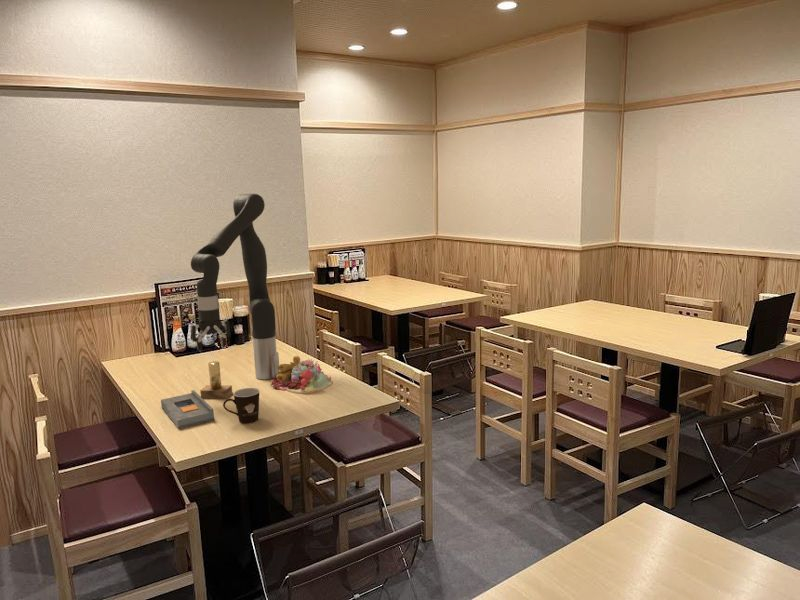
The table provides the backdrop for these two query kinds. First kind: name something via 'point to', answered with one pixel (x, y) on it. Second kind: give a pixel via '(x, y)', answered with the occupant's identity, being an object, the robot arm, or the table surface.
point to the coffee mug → (246, 405)
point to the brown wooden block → (216, 392)
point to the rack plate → (187, 410)
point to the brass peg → (214, 375)
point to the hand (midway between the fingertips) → (212, 349)
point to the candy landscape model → (301, 377)
